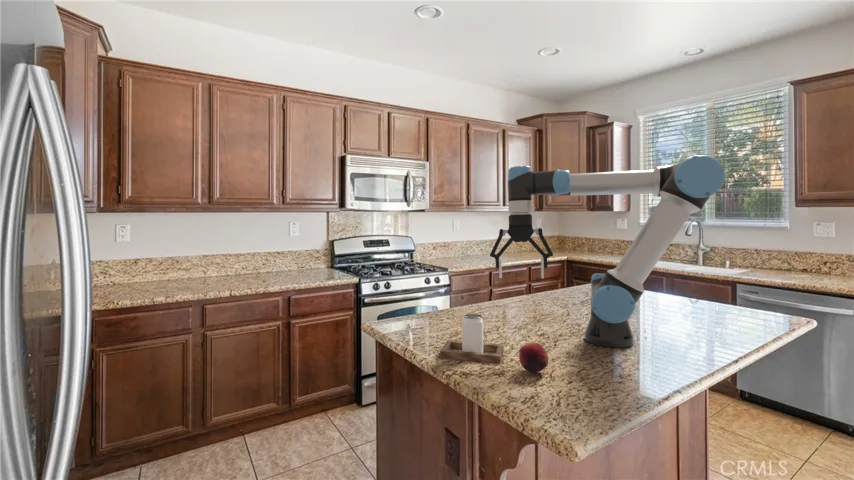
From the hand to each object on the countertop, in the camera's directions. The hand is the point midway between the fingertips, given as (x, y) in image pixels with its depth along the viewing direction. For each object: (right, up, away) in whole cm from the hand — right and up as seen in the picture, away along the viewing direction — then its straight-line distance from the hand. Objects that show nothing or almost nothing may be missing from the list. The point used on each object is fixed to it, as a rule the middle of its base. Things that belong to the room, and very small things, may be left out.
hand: (521, 278), depth 136 cm
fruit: (-2, -24, -24) cm, 34 cm away
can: (-17, -23, -9) cm, 30 cm away
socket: (-17, -23, -9) cm, 30 cm away
